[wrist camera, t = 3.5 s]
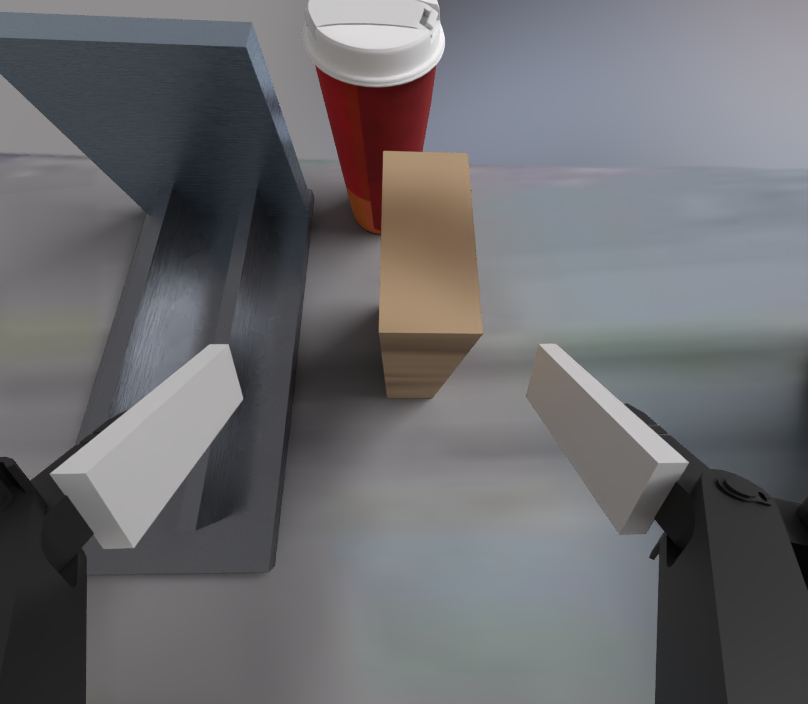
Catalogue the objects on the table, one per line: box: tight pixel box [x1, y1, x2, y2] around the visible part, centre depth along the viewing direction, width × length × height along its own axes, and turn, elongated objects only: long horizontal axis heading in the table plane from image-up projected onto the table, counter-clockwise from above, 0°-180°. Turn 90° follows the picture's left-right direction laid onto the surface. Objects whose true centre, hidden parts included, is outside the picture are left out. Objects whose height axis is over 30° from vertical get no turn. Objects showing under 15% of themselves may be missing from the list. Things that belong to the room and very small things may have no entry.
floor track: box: [0, 12, 314, 575], centre depth 18 cm, size 30×14×13 cm, turn 0°
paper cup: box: [301, 0, 445, 234], centre depth 22 cm, size 8×8×14 cm
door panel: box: [379, 151, 483, 398], centre depth 18 cm, size 8×4×14 cm, turn 0°
